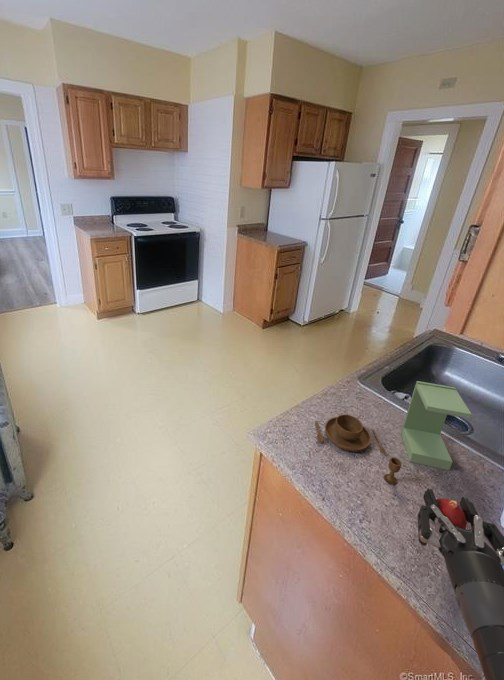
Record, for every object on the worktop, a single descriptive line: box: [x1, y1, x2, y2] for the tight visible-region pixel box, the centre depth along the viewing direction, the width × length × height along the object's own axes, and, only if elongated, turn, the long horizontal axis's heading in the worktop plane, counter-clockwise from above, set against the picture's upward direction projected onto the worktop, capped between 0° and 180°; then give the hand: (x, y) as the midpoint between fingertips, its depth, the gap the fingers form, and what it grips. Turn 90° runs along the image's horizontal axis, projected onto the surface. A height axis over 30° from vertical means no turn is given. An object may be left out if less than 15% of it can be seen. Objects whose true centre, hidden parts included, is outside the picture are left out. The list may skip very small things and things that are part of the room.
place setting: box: [314, 414, 403, 486], centre depth 85 cm, size 18×20×6 cm
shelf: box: [400, 380, 473, 471], centre depth 82 cm, size 10×9×18 cm
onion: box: [430, 497, 468, 529], centre depth 59 cm, size 6×6×8 cm
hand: (445, 496), depth 61 cm, fingers closed on onion, 5 cm apart
